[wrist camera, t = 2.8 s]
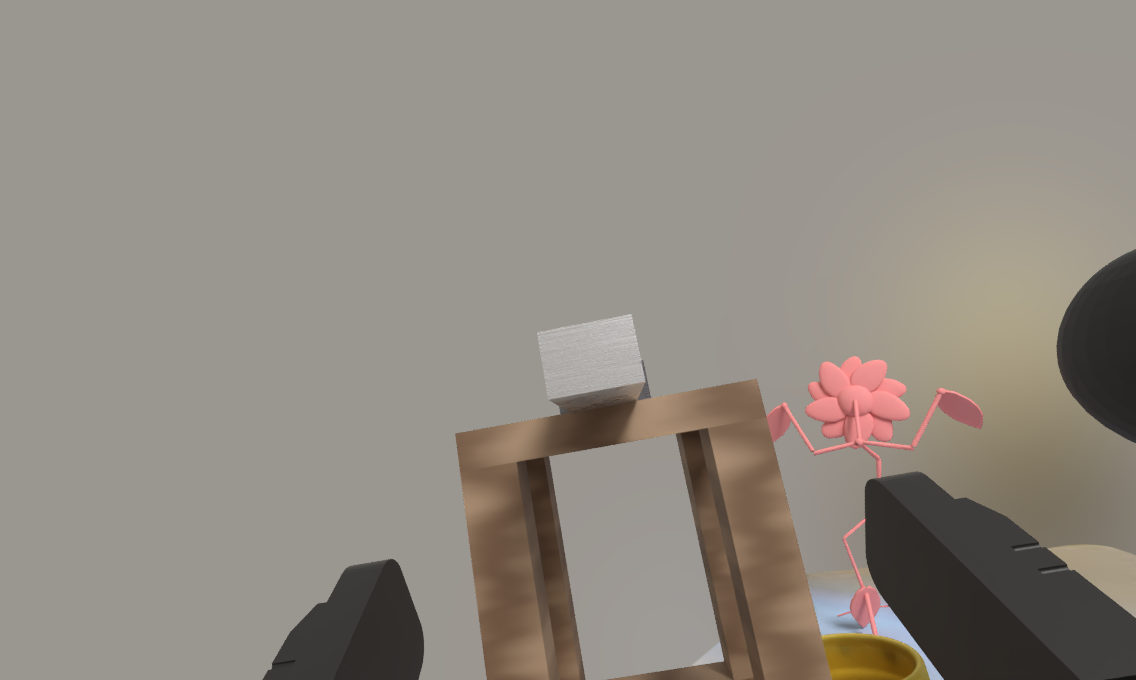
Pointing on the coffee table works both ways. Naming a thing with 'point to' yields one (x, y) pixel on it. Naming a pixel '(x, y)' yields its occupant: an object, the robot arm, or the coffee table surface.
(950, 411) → the figurine
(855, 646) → the plant pot
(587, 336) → the brushed grey block
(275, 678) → the robot arm
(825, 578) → the coffee table surface
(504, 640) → the walnut stand
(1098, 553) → the coffee table surface
